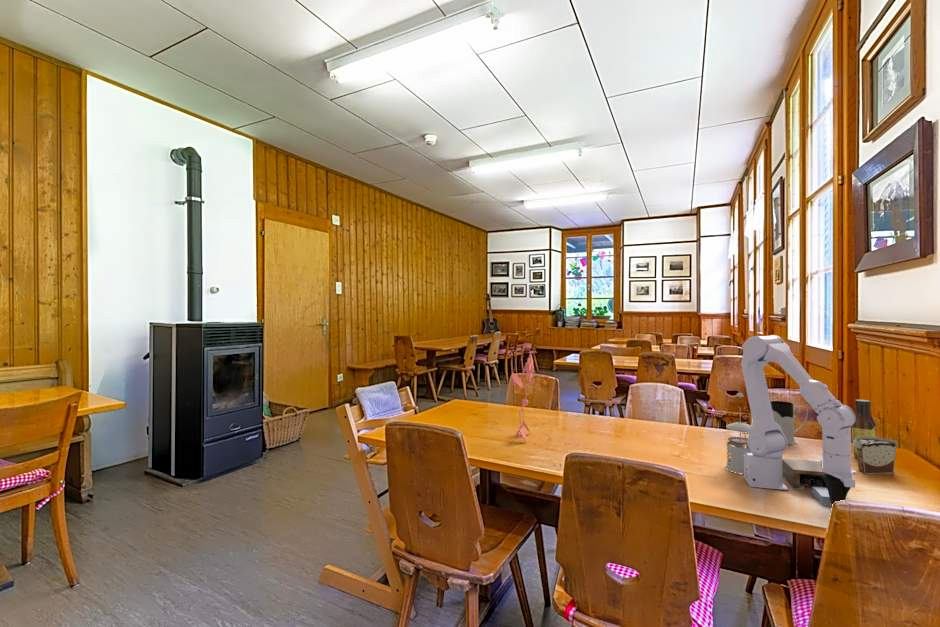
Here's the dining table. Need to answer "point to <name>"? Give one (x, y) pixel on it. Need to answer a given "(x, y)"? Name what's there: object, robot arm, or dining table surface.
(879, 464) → the food container
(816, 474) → the overhang shelf
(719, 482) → the dining table surface
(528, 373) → the figurine
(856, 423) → the sauce bottle
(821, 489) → the grey rectangular block
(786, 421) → the glass holder
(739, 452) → the french press
